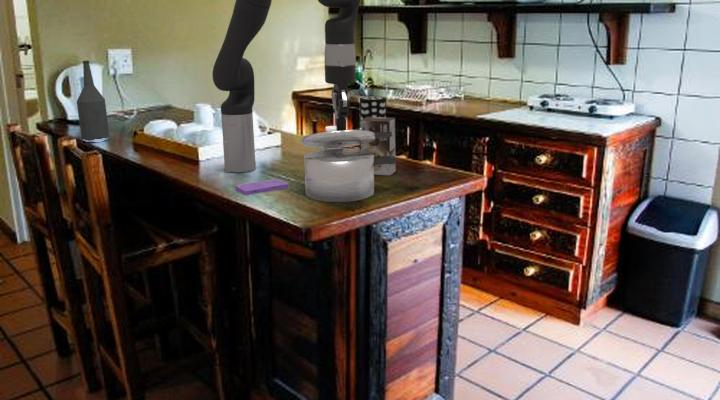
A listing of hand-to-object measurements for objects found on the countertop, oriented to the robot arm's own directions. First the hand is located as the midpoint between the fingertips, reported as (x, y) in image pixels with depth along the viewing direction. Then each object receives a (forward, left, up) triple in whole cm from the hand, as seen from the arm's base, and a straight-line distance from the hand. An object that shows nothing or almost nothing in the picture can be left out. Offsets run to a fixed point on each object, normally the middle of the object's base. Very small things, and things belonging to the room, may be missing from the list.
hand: (341, 133), depth 157 cm
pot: (+3, +3, -16) cm, 17 cm away
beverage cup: (+7, +52, -17) cm, 55 cm away
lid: (+2, +4, -3) cm, 5 cm away
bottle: (-78, +98, -17) cm, 126 cm away
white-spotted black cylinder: (+17, +38, -17) cm, 45 cm away
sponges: (-20, +12, -17) cm, 29 cm away
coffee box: (+15, +22, -17) cm, 31 cm away
